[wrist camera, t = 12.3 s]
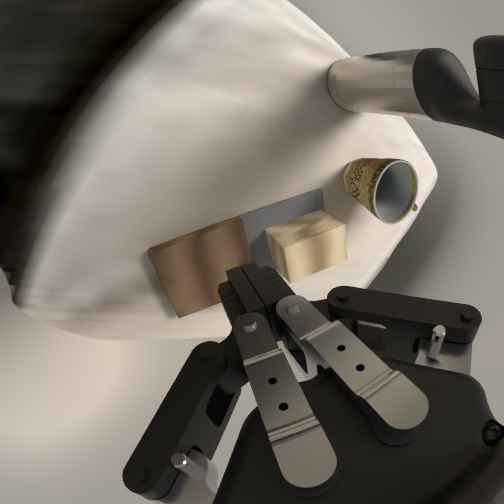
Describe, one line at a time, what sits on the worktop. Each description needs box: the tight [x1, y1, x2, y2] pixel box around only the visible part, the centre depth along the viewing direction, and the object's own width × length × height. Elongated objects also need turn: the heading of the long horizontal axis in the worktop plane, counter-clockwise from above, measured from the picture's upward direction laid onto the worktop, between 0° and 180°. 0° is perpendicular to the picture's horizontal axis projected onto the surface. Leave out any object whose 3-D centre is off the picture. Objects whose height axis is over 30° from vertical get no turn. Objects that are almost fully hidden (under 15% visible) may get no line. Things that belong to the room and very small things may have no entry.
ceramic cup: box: [343, 158, 418, 224], centre depth 43 cm, size 13×10×10 cm
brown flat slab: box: [149, 216, 253, 318], centre depth 43 cm, size 14×12×2 cm
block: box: [265, 210, 347, 283], centre depth 44 cm, size 10×6×7 cm, turn 103°
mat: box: [239, 189, 324, 269], centre depth 46 cm, size 14×11×1 cm
